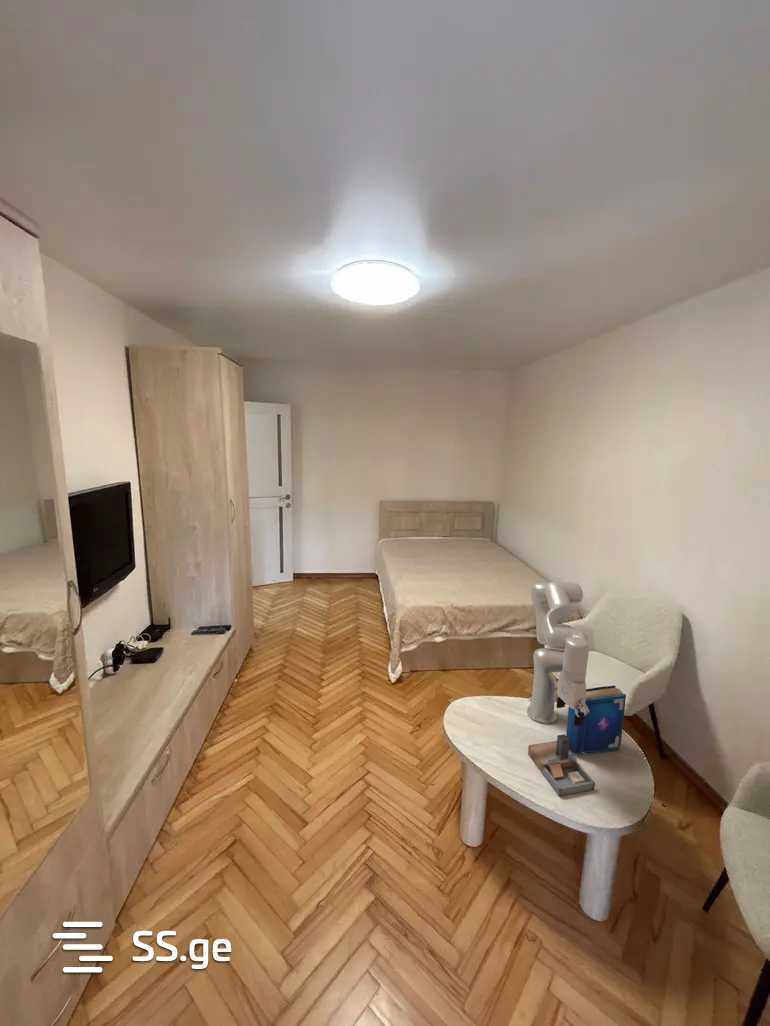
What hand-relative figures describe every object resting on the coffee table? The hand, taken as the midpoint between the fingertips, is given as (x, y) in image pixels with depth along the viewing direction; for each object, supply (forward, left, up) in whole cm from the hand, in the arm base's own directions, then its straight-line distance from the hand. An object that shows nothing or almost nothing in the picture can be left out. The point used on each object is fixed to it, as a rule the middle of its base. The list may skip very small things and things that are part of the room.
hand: (568, 715), depth 151 cm
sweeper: (-1, 0, -20) cm, 20 cm away
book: (-10, +20, -25) cm, 33 cm away
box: (+3, 0, -25) cm, 25 cm away
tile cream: (+3, +3, -23) cm, 23 cm away
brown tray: (-7, 0, -25) cm, 25 cm away
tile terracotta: (0, -3, -23) cm, 23 cm away
